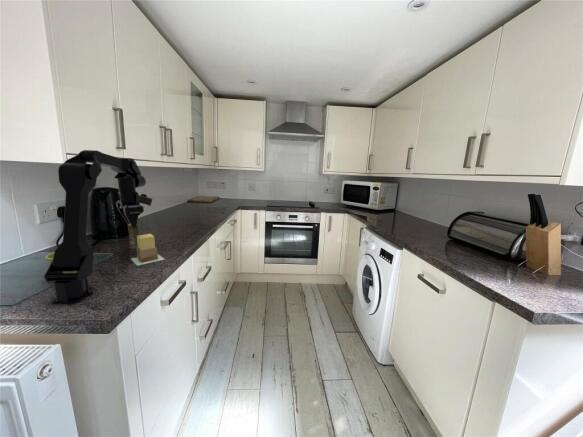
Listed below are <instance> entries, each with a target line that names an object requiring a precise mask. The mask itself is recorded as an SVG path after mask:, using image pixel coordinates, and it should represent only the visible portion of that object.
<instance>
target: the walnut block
mask: <svg viewBox="0 0 583 437" xmlns="http://www.w3.org/2000/svg"><path fill="white" fill-rule="evenodd" d="M136 257H137V259H138V260H139V261H140V262H141V263H143V262H147V261H152V260H156V259H158V248H157V246H155V248H151V249H146V250H140V249H139V248H138V246H136Z"/></svg>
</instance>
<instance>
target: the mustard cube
mask: <svg viewBox="0 0 583 437" xmlns="http://www.w3.org/2000/svg"><path fill="white" fill-rule="evenodd" d="M136 241H137V247H138V248H139V249H140V250H146V249H151V248H155V247H156V244H155V243H156V242H155V236H154V235H153V234H152V233H147V234H141V235H136Z"/></svg>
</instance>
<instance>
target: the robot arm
mask: <svg viewBox="0 0 583 437" xmlns="http://www.w3.org/2000/svg"><path fill="white" fill-rule="evenodd" d="M102 166H103V167H107V168H110V169H111V170H112V171H113V172H116V173H117V174H116V175H115V176H114V179H117V185H118V191H117V193H118V195H119V199H118V200H117V201H116V202H115V205H116V208H117V210H118V211H119V213H120V214H121V216H122V217H123V219H124V221H125V223H127V225H130V226H131V228H132V229H136V228H137V224H138V220H139V216H140V215H141V214H143V212H145V210H144V206H143V205H147V206H152V202H153V198H151V197H148V196H147V194H144V193H141V194H139V192H137V190H136V188H138V189H139V188H142V187H145V185H146V183H147V182H146V181H147V180H146V178H145V177H144V176H143V175H142V173H141V170H140V168H139V166H138V163H137V162H136V161H135V159H133V158H130V157H127V158H126V157H117V156H113V155H110V154H108V153H107V154H106V153H104V152H101V151H98V150H90V149H87V150H86V149H84V150H80V151H79V153H78V154H76V155H74V156H72V157H70V158H67V159H66V160H65V161H64V162H63V163H62V164H61V165H59V166H58V170H57V173H58V183H59V185H60V186H61V187H62V188H63V190H64V191H65V202H64V203H65V204H64V216H63V217H64V218H63V219H64V221H63V234H62V235H63V236H62V237H63V238H62V241H61V242H60V244H59V245H58V246H57V247H56V248H55V250H54V252H53V253H54V257H53V261H52V263H50V264H49V266H48V268H47V270H46V272H45V274H44V276H43V278H44V279H45V281H46V282H47V283H50V282H51V283H52V282H54V283H53V284H54V290H55V296H56V298H55V299H53V300H52V301H51V302H52V303H53V302H59V303H58V304H67V303H70V304H71V305H72V304H73V303H74V304H76V303H77V301H78V302H79V301H82V300H83V299H84V298H86V297H89V296H90V295H91V294H93V293H94V292H93V290H90V288H89V284H88V277H91V275H93V274H92V273H93V265H94V260H95V257H94V251H95V247H94V246H93V245H89V243H88V242H87V225H88V224H87V222H88V207H89V206H88V205H89V194H90V193H91V191H92V190H94V188H95V187H96V185H97V178H98V177H99V176H100V174H101V173H102V172H103V168H102ZM141 204H143V205H141ZM63 271H78V272H77V273H63Z"/></svg>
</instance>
